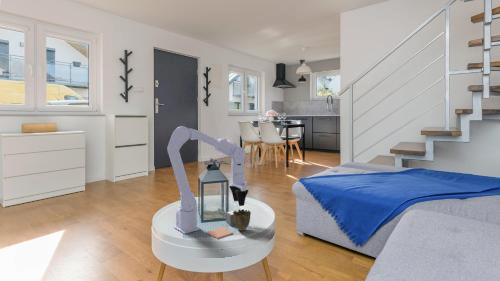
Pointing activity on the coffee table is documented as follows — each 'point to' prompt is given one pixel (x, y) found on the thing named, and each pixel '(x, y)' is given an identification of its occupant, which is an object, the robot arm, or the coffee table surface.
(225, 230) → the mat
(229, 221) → the letter block
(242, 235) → the coffee table surface
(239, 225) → the cup
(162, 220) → the coffee table surface
